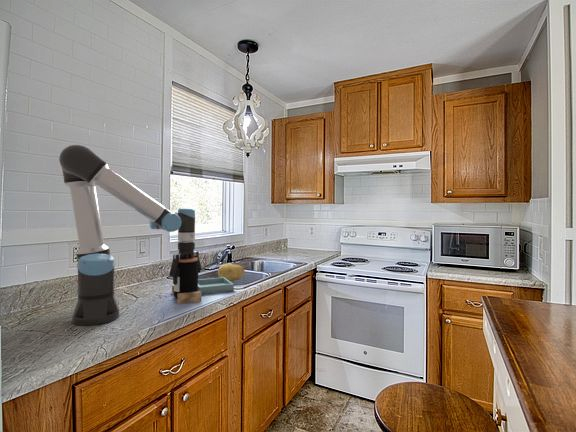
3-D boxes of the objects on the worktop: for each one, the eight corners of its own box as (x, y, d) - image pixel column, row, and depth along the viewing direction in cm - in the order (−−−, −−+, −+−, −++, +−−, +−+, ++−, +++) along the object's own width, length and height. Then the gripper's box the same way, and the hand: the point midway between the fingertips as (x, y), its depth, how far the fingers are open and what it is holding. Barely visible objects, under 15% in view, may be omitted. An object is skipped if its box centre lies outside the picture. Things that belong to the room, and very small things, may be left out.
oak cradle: (177, 303, 140) (178, 294, 140) (171, 293, 157) (171, 284, 156) (201, 301, 144) (201, 292, 144) (192, 290, 161) (193, 283, 161)
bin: (199, 294, 155) (199, 287, 155) (192, 286, 170) (192, 280, 170) (233, 290, 162) (233, 284, 162) (224, 283, 178) (224, 277, 177)
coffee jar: (195, 292, 158) (195, 256, 157) (200, 298, 148) (200, 259, 148) (172, 295, 153) (172, 257, 152) (175, 301, 143) (176, 261, 143)
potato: (222, 277, 191) (222, 262, 191) (245, 279, 188) (246, 263, 188) (215, 281, 182) (215, 264, 181) (239, 283, 178) (239, 266, 178)
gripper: (172, 244, 138) (172, 295, 138) (209, 239, 158) (209, 284, 159) (160, 243, 141) (160, 293, 142) (198, 238, 162) (197, 282, 162)
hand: (186, 288), depth 150 cm, fingers closed on coffee jar, 11 cm apart
